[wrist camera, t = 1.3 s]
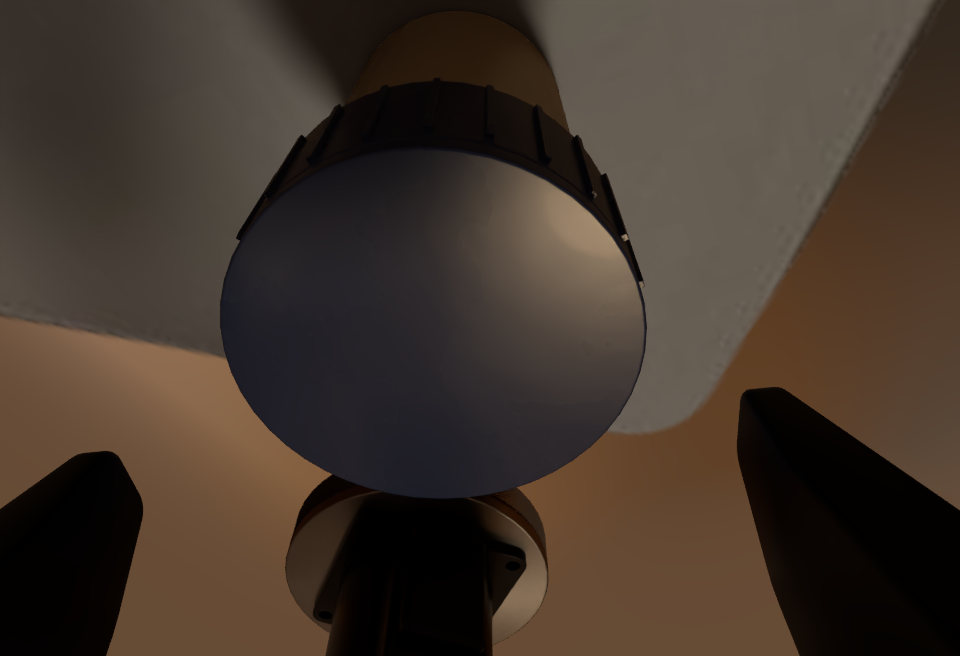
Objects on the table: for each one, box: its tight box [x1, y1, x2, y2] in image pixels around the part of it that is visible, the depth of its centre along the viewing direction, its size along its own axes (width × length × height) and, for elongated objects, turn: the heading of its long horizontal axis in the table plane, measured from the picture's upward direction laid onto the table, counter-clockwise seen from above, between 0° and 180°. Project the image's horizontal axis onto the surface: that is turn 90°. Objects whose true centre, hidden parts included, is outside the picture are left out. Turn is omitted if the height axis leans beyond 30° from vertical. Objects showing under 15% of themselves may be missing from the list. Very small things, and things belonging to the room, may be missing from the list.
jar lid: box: [220, 78, 647, 499], centre depth 12 cm, size 6×6×3 cm
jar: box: [345, 11, 570, 133], centre depth 15 cm, size 5×5×10 cm
